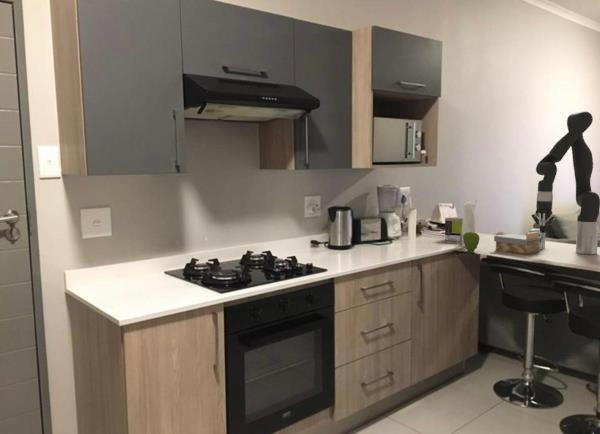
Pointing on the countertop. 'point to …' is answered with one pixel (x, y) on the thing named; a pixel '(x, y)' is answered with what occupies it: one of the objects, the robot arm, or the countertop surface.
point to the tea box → (453, 228)
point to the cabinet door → (517, 238)
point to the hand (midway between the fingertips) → (542, 232)
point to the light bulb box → (542, 244)
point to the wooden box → (519, 247)
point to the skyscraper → (467, 220)
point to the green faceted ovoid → (471, 241)
